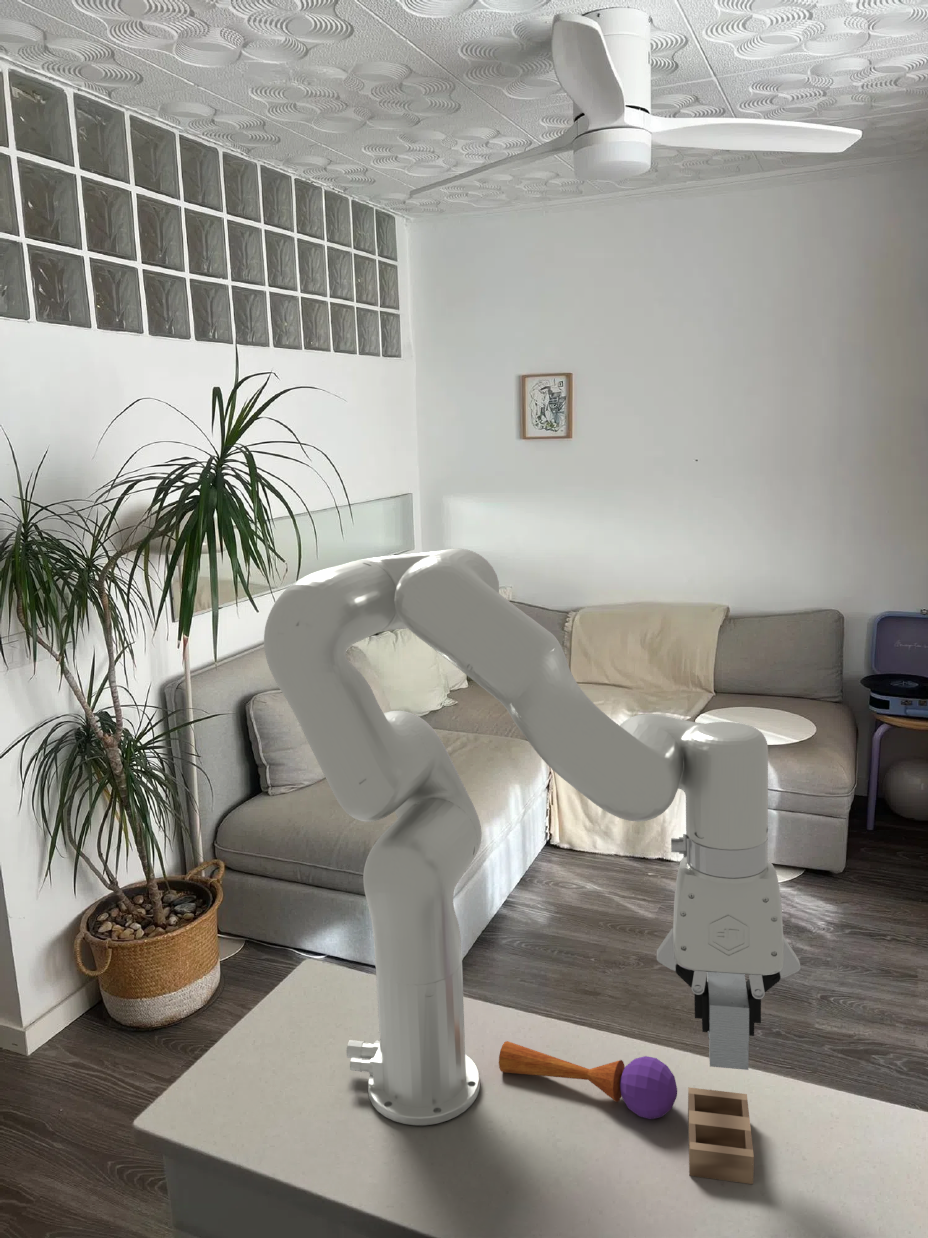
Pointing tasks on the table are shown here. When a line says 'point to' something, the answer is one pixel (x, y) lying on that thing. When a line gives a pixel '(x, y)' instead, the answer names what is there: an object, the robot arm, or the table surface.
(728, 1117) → the wooden frame
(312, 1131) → the table surface
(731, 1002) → the steel brick
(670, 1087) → the kendama
